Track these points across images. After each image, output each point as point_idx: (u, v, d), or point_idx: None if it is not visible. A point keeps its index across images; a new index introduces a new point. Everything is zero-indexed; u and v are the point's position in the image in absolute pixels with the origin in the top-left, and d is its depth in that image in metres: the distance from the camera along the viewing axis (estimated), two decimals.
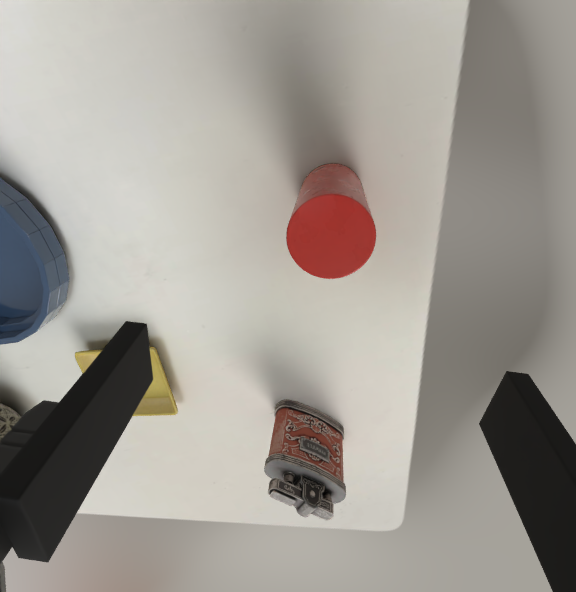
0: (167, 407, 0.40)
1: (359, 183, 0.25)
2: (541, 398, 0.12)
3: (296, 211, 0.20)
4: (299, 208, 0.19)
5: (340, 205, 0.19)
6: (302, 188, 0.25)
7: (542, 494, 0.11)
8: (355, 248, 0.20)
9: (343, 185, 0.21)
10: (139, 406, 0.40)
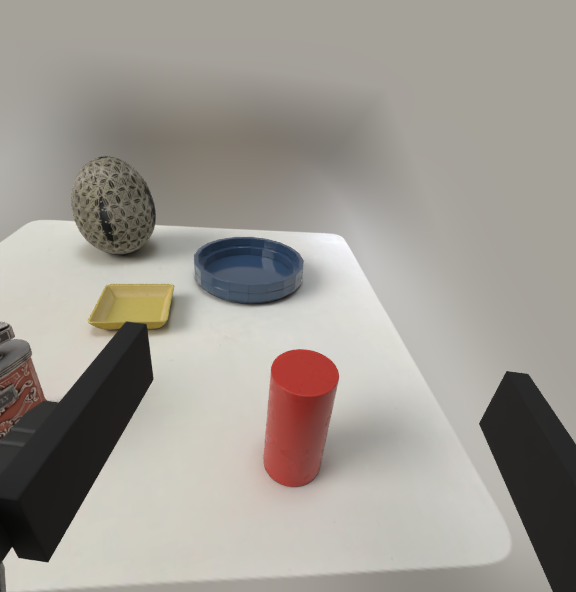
0: (96, 320, 0.43)
1: (316, 458, 0.28)
2: (541, 398, 0.12)
3: (322, 355, 0.28)
4: (325, 356, 0.28)
5: (331, 376, 0.26)
6: None
7: (542, 494, 0.11)
8: (298, 384, 0.25)
9: (333, 403, 0.27)
10: (104, 305, 0.46)
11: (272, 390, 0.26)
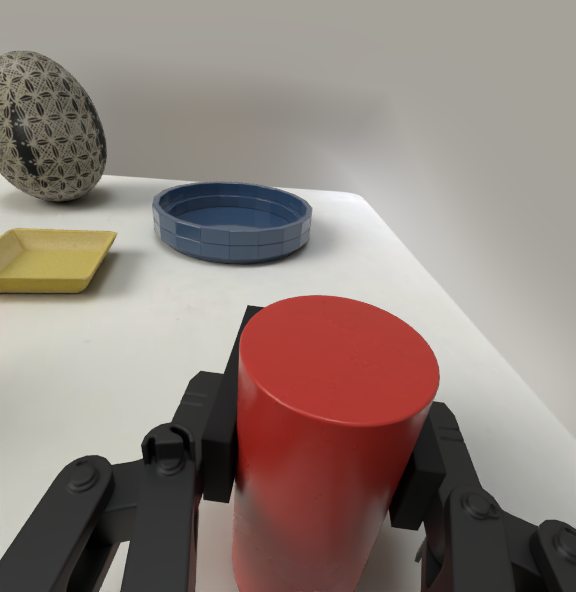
0: None
1: (357, 572, 0.11)
2: None
3: (378, 308, 0.11)
4: (385, 311, 0.11)
5: (416, 360, 0.09)
6: None
7: None
8: (322, 383, 0.08)
9: None
10: None
11: (242, 401, 0.09)
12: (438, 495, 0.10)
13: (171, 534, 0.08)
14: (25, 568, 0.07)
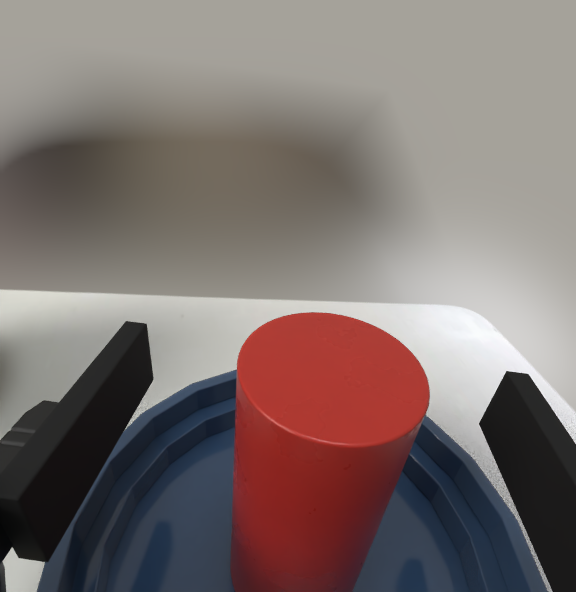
0: None
1: (352, 581, 0.12)
2: (541, 398, 0.12)
3: (372, 326, 0.11)
4: (379, 329, 0.11)
5: (407, 380, 0.09)
6: None
7: (542, 493, 0.11)
8: (317, 404, 0.08)
9: None
10: None
11: (240, 418, 0.09)
12: None
13: None
14: None
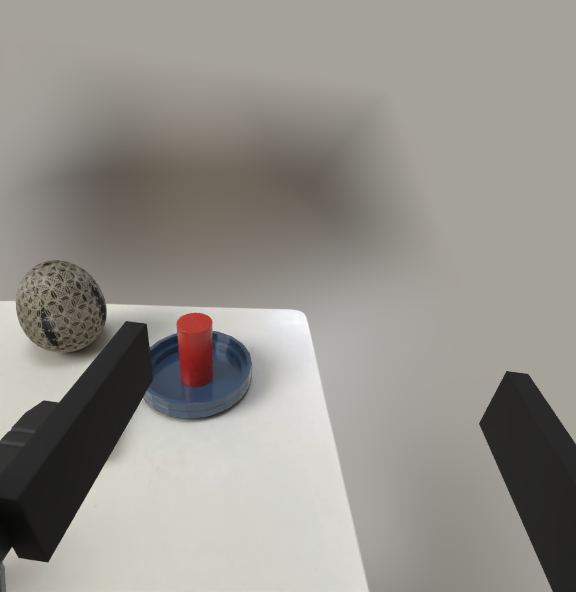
0: None
1: (204, 370, 0.54)
2: (541, 398, 0.12)
3: None
4: (208, 316, 0.53)
5: (207, 325, 0.51)
6: None
7: (542, 494, 0.11)
8: (188, 327, 0.50)
9: (211, 340, 0.52)
10: None
11: (177, 331, 0.51)
12: None
13: None
14: None
